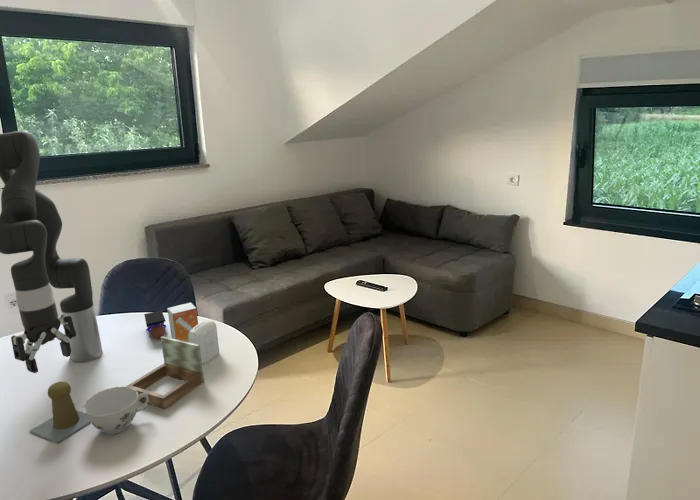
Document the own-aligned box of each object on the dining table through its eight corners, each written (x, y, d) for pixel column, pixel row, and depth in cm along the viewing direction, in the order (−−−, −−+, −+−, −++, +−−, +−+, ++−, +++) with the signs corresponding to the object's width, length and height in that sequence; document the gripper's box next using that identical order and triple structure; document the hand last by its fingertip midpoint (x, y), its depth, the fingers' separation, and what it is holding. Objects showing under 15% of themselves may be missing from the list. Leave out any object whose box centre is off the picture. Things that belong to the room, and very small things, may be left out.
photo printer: (211, 350, 169) (206, 316, 166) (221, 353, 168) (217, 318, 164) (189, 365, 161) (184, 329, 157) (200, 368, 159) (195, 331, 155)
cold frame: (127, 397, 144) (120, 359, 141) (168, 372, 157) (162, 336, 154) (165, 410, 138) (158, 370, 134) (204, 382, 151) (199, 344, 147)
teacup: (94, 449, 123) (88, 421, 121) (84, 424, 133) (79, 397, 130) (158, 425, 131) (153, 398, 129) (145, 403, 141) (140, 377, 139)
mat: (29, 432, 131) (29, 430, 130) (69, 408, 140) (69, 407, 140) (57, 443, 126) (57, 442, 126) (96, 418, 135) (96, 417, 135)
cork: (66, 430, 130) (57, 392, 127) (47, 427, 132) (38, 389, 128) (84, 417, 135) (77, 379, 132) (66, 413, 137) (58, 376, 134)
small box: (177, 350, 171) (171, 313, 167) (171, 343, 176) (166, 307, 172) (201, 343, 175) (196, 307, 171) (195, 336, 180) (190, 301, 176)
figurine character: (145, 331, 189) (149, 343, 176) (141, 311, 188) (145, 321, 174) (164, 327, 192) (170, 338, 179) (161, 307, 191) (166, 317, 177)
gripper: (16, 317, 115) (32, 381, 120) (74, 294, 127) (86, 353, 132) (-4, 312, 119) (13, 374, 123) (54, 290, 131) (67, 348, 136)
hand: (51, 363), depth 128 cm, fingers open, 8 cm apart
